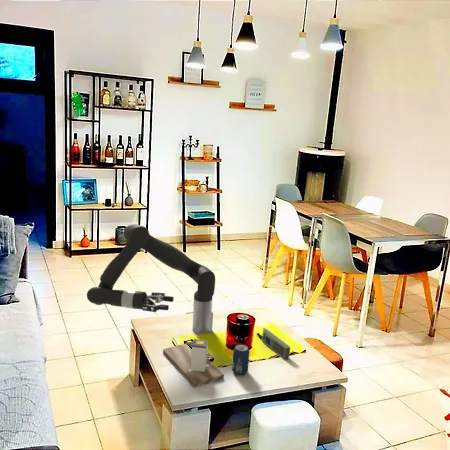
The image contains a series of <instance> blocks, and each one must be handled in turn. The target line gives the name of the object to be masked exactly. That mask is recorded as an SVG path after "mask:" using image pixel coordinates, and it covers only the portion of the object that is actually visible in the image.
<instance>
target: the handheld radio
mask: <svg viewBox="0 0 450 450" xmlns="http://www.w3.org/2000/svg"><path fill="white" fill-rule="evenodd" d="M262 329H263V330H262V334H260V333H259V332H257V333H256V336H258V337H259V339H261V342H262V343H263V344H265V346H267V347H268V348H269V349H271V351H273V352H274V353H276V354H277V356H279V357H280V358H281V359H283V360H284V361H288V360H289V358H290V353H291V346H290V345H288V344H287V343H286V342H284V341H283V340H282V339H281V338H279V337H278V336H277V335H275V334H274V333H273V332H272V331H270V330H268V329H267V328H265V327H263V328H262Z"/></svg>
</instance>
